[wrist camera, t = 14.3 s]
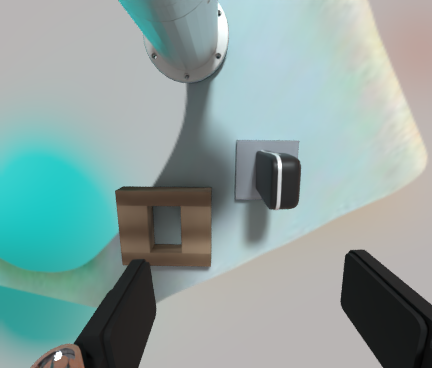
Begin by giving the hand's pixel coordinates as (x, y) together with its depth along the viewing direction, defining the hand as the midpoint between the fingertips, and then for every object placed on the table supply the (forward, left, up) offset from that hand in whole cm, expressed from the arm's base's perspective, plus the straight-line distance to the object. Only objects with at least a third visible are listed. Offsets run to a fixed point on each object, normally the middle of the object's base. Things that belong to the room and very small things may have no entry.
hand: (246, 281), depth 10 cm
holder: (+9, -10, -28) cm, 31 cm away
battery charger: (-1, +7, -27) cm, 28 cm away
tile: (-1, +7, -28) cm, 28 cm away
